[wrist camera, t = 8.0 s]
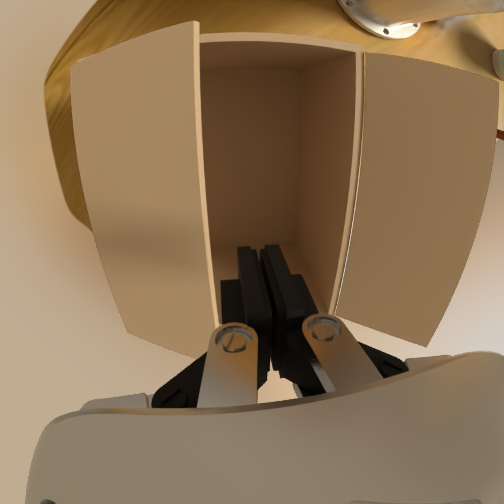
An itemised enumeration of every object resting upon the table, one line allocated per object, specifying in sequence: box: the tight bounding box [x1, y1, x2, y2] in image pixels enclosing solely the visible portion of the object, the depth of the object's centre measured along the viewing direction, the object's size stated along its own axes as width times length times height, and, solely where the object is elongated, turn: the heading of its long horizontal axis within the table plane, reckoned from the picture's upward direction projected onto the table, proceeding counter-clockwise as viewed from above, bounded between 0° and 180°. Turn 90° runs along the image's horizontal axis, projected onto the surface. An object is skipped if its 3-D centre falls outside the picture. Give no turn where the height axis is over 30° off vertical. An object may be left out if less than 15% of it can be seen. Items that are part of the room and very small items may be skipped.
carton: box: [78, 32, 364, 326], centre depth 24 cm, size 22×18×14 cm
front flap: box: [70, 20, 219, 359], centre depth 15 cm, size 21×9×1 cm, turn 1°
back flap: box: [335, 52, 499, 347], centre depth 16 cm, size 21×9×1 cm
